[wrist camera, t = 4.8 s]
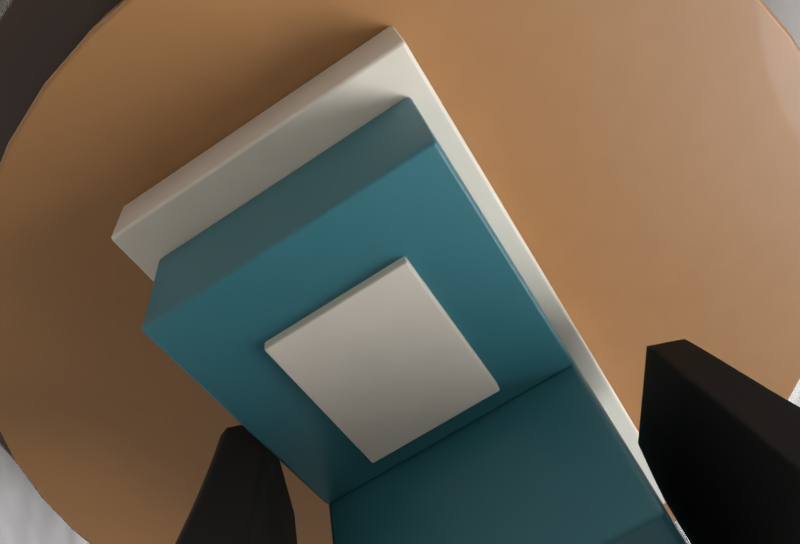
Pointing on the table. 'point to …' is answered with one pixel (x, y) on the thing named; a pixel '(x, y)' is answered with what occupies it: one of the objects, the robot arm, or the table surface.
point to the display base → (71, 21)
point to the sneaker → (393, 257)
